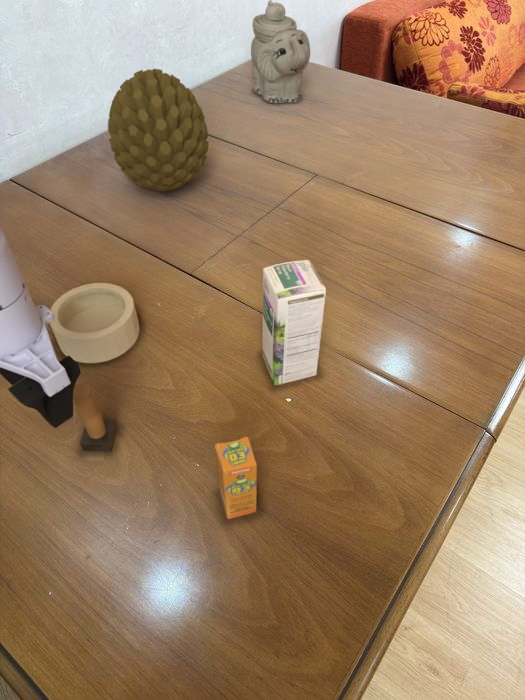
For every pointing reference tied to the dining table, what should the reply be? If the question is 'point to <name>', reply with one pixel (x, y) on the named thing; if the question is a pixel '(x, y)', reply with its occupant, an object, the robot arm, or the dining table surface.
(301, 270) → the syrup box
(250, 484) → the supplement box
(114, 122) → the decorative object
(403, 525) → the dining table surface
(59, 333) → the cream ceramic ramekin
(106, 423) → the wooden handle stamp
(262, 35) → the grey elephant figurine
